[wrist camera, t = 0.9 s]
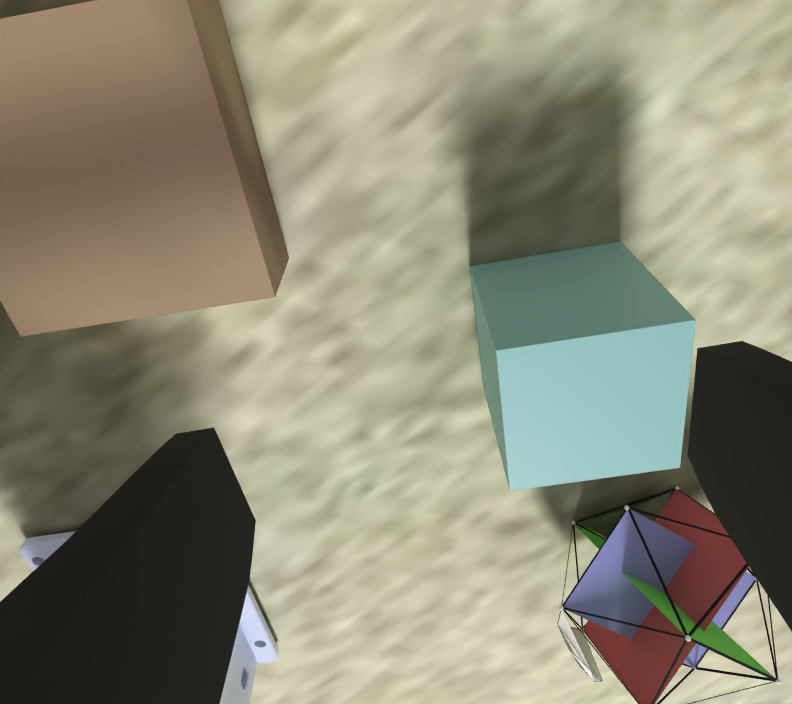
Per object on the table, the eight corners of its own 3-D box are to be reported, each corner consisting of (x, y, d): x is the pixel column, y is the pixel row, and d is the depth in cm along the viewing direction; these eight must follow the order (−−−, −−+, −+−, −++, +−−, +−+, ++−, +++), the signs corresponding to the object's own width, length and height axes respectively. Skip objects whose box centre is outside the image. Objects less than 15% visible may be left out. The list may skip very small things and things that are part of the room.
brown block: (290, 253, 18) (275, 297, 15) (70, 288, 18) (20, 336, 16) (217, -16, 14) (181, -17, 12) (-53, 37, 15) (-146, 46, 12)
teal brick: (616, 365, 20) (680, 467, 16) (482, 385, 20) (509, 490, 16) (619, 240, 18) (695, 320, 13) (469, 265, 18) (496, 350, 14)
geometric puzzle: (699, 435, 19) (666, 716, 15) (832, 519, 21) (829, 783, 17) (547, 458, 25) (499, 662, 21) (660, 521, 27) (634, 716, 23)
